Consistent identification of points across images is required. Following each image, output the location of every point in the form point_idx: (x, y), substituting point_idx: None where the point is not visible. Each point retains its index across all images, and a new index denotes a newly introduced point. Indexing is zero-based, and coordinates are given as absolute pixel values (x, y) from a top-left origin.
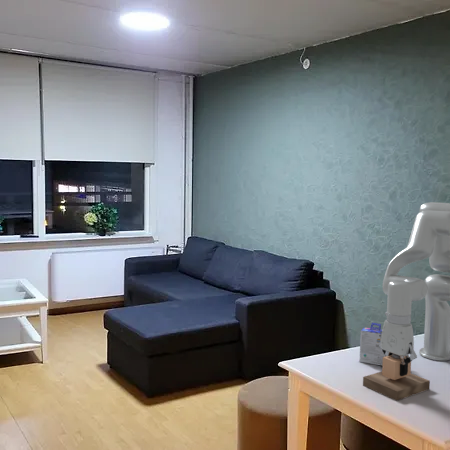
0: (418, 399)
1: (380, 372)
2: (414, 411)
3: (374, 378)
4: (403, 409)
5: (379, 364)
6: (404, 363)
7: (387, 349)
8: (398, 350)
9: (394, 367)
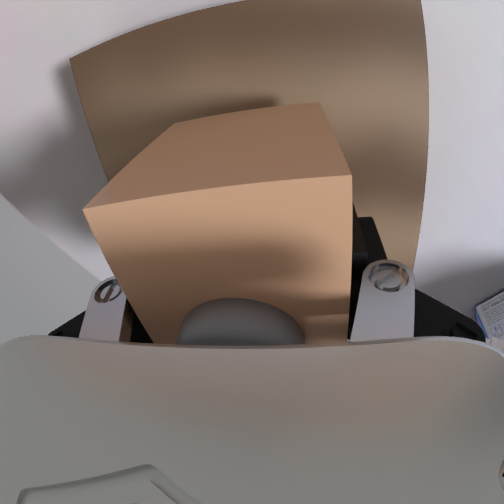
0: (95, 173)
1: (415, 182)
2: (6, 80)
3: (350, 44)
4: (26, 39)
5: (497, 297)
6: (94, 291)
7: (313, 379)
8: (20, 403)
9: (127, 169)
